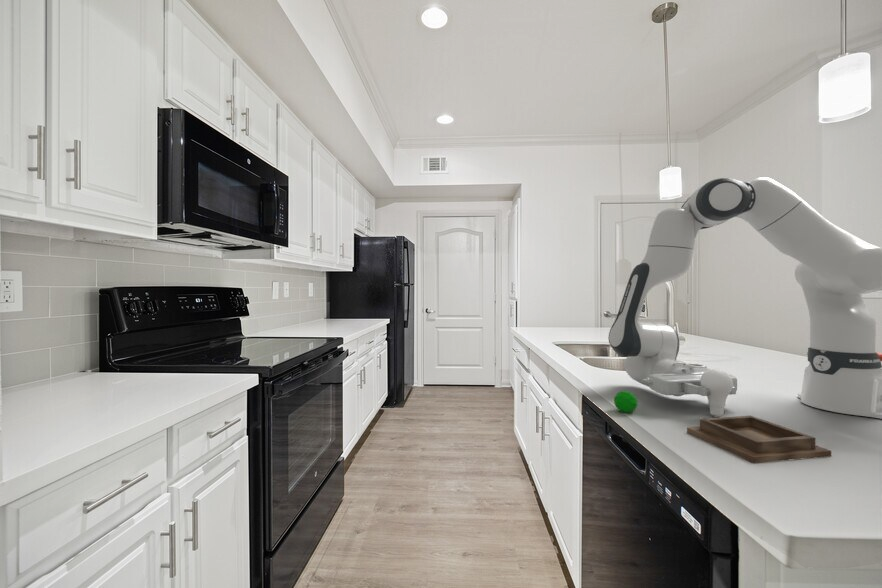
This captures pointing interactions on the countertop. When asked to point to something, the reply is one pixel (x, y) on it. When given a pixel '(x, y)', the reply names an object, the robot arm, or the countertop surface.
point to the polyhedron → (625, 402)
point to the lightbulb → (717, 389)
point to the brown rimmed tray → (757, 439)
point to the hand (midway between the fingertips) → (720, 391)
